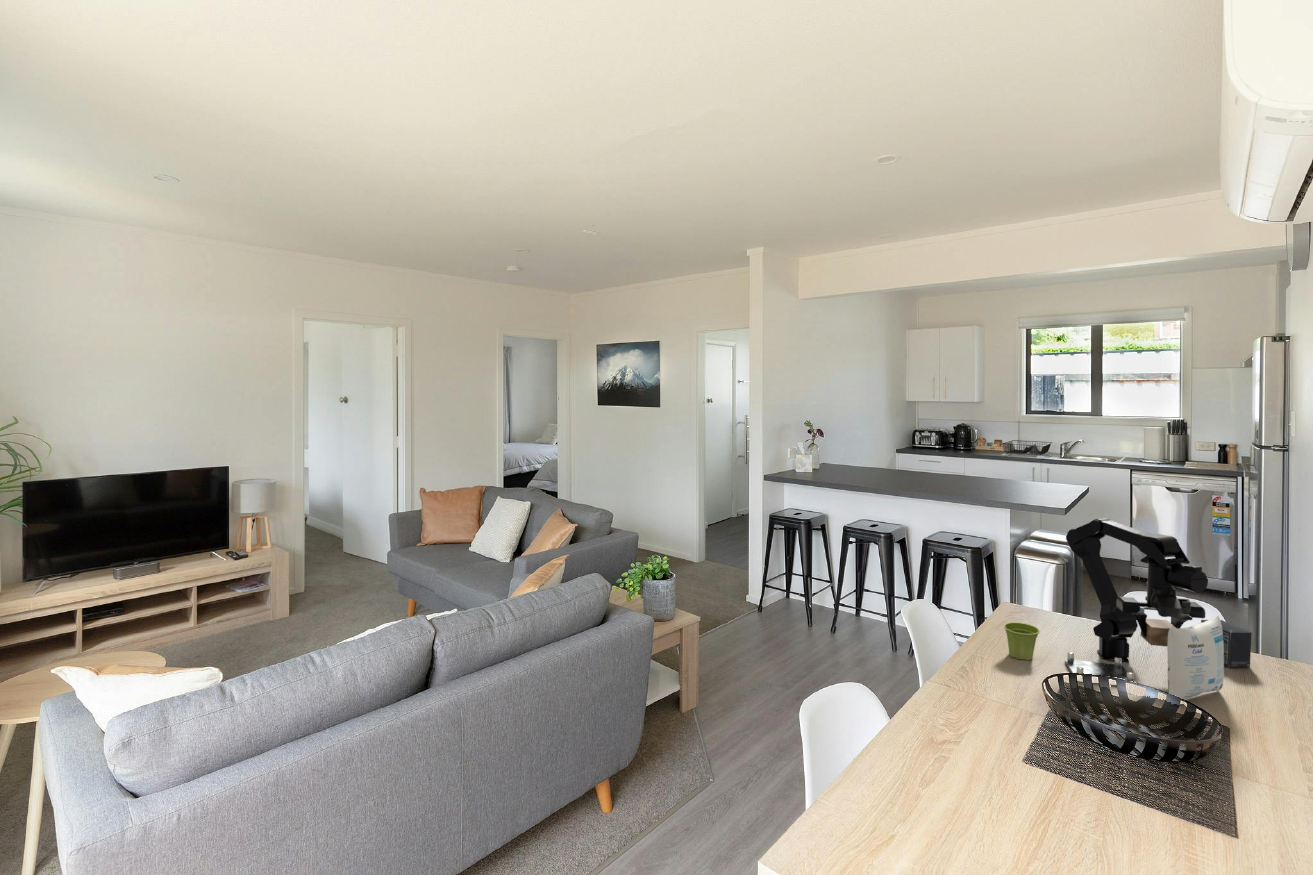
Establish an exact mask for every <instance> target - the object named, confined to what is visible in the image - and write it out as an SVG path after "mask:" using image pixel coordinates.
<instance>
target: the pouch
mask: <svg viewBox="0 0 1313 875" xmlns="http://www.w3.org/2000/svg"><path fill="white" fill-rule="evenodd" d="M1207 620H1208V621H1205V622H1203V623H1201V622H1200V623H1197V624H1193V625H1191V626H1189V627H1181V628H1179V629H1177V628H1174V627H1171V628H1170V629H1169V632H1168V644H1167V646H1166V647H1167V648H1166V649H1167V651H1166V652H1167V690H1168V695H1169V694H1173V695H1176V696H1178V697H1180V698H1181V699H1185V700H1184V701H1186V700H1188V699H1192V698H1194V697H1198V696H1200V695H1202V694H1204V693H1211V692H1218V693H1219V692H1221V690H1222V689H1223V686H1224V678H1225V676H1224V675H1225V673H1224V672H1225V666H1224V644H1223V631H1222V625H1221V621H1220V620H1221V619H1220V616H1219V615H1218V616H1215V617H1212V618H1210V619H1207Z"/></svg>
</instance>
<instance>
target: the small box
mask: <svg viewBox="0 0 1313 875" xmlns="http://www.w3.org/2000/svg"><path fill="white" fill-rule="evenodd" d="M1208 620H1209V619H1201V620H1200V623H1203V622H1205V621H1208ZM1220 621H1221V625H1222V631H1223V644H1224V667H1226V668H1228V669H1230V668H1231V669H1239V668H1240V669H1244V668H1245V669H1249V668H1251V656H1252V655H1251V653H1252V649H1251V648H1252V635H1253V634H1252V633H1253V632H1252V631H1249V630H1247V629H1244V628H1241V627H1240V626H1237V625H1235V624H1232V623H1230V622H1227V621H1224V620H1222V619H1220Z"/></svg>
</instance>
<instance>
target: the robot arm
mask: <svg viewBox="0 0 1313 875" xmlns="http://www.w3.org/2000/svg"><path fill="white" fill-rule="evenodd" d="M1106 536H1108V537H1111V538H1113V539H1116V540H1118V541H1121V542H1124V543H1126V544H1129V545H1130V546H1131V545H1132V546H1133V547H1136V548H1137V549H1138V550H1139V551H1140V553H1143V554H1144V555H1146V556H1143V558H1140V560H1139V561H1140V563H1144V564H1147V581H1145V586H1146V591H1147V592H1146V596H1145V601H1146V602H1145V601H1144V602H1143V601H1138V600H1137V599H1136V598H1134V597H1130V596H1118V594H1117V591H1116V589H1115V587H1114V584H1113V583H1112V580H1111V577H1110V576H1109V572H1108V569H1107V568H1106V566H1105V563H1104V561H1103V560H1102V556H1101V549H1102V542H1101V540H1102V539H1103V538H1105V537H1106ZM1065 540H1066V542H1067V544H1068V546H1069V548H1070V549H1071V551H1072V552H1073V553H1074V554H1075V555H1077V556H1078V557H1079V558H1080V559H1081V562H1082V564H1083V565H1084V568H1085V571H1086V573H1087V576H1088V577H1089V580H1090V582H1091V584H1092V587H1093V590H1094V592H1095V594H1096V596H1097V599H1098V601H1099V603H1100V611H1099V618H1100V621H1101V622H1099V623H1098V624H1096V625H1095V626H1093V633H1094V636H1096V637H1098V641H1099V642H1098V649H1097V651H1096V652H1097V653H1098V655H1099V656H1100V658H1102V660H1108V661H1115V657H1120V658H1122V662H1128V663H1129V661H1130V660H1129V659H1128V658H1130V643H1128V639H1129V638H1130V639H1131V638H1132V637H1133V636H1134V633H1135V632H1136V631H1137V630H1138V627H1139V629H1140V632H1141V631H1142V634H1143V636H1144V637H1146V634H1147V629H1146V619H1148V615H1147V614H1146V613H1145V610H1149V611H1156V612H1157V614H1158V616H1160V617H1161V618H1168V617H1170V623H1171V624H1172V625H1173V626H1175V627H1176V628H1177V629H1179V628H1182V626H1183V625H1184V623H1186V622H1188V621H1193V618H1194V619H1205V618H1206V609H1205V608H1204V607H1203V606H1202V605H1200V604H1199V603H1197V602H1196V601H1190V599H1189V598H1178V597H1177V593H1176V588H1178V589H1182V590H1185V591H1189V592H1191V593H1192V592H1193V593H1194V594H1200V593H1203V592H1204V591H1205V590H1206V589H1207V587H1208V585H1209V584H1208V583H1209V579H1208V577H1207V574H1206V573H1205V572H1204V571H1203V566H1199V565H1192V564H1191V563H1190V560H1189V559H1188V556H1187V555H1186V554H1185V552H1184V550H1183V549H1182V547H1181V546H1180V544H1179V541H1178V539H1177V538H1176V537H1174V536H1173V535H1167V534H1161V533H1152V532H1151V533H1149V532H1145V531H1143V530H1140V529H1136V528H1133V527H1131V526H1128V525H1125V524H1122V523H1119V522H1116V521H1113V520H1112V519H1110V518H1107V517H1106V518H1105V517H1101V518H1094V519H1093V520H1091V521H1090V522H1088V523H1085V524H1083V525H1079V527H1075V528H1071V529H1069V530H1068V531H1067V534H1066V535H1065Z"/></svg>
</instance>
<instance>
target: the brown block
mask: <svg viewBox="0 0 1313 875" xmlns="http://www.w3.org/2000/svg"><path fill="white" fill-rule="evenodd" d="M1171 627H1174V628H1176V627H1175V626H1173V625H1172V624H1171V621H1168V620H1167V619H1158V618H1157V619H1156V618H1146V629H1147V634H1146V637H1144V636H1143V634H1142V631H1141V630H1140V637H1141V638H1143V639H1144V640H1145V641H1146V642H1147V643H1148V644H1149V645H1150V646H1155V647H1156V646H1159V647H1167V644H1168V632H1169V629H1170V628H1171Z"/></svg>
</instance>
